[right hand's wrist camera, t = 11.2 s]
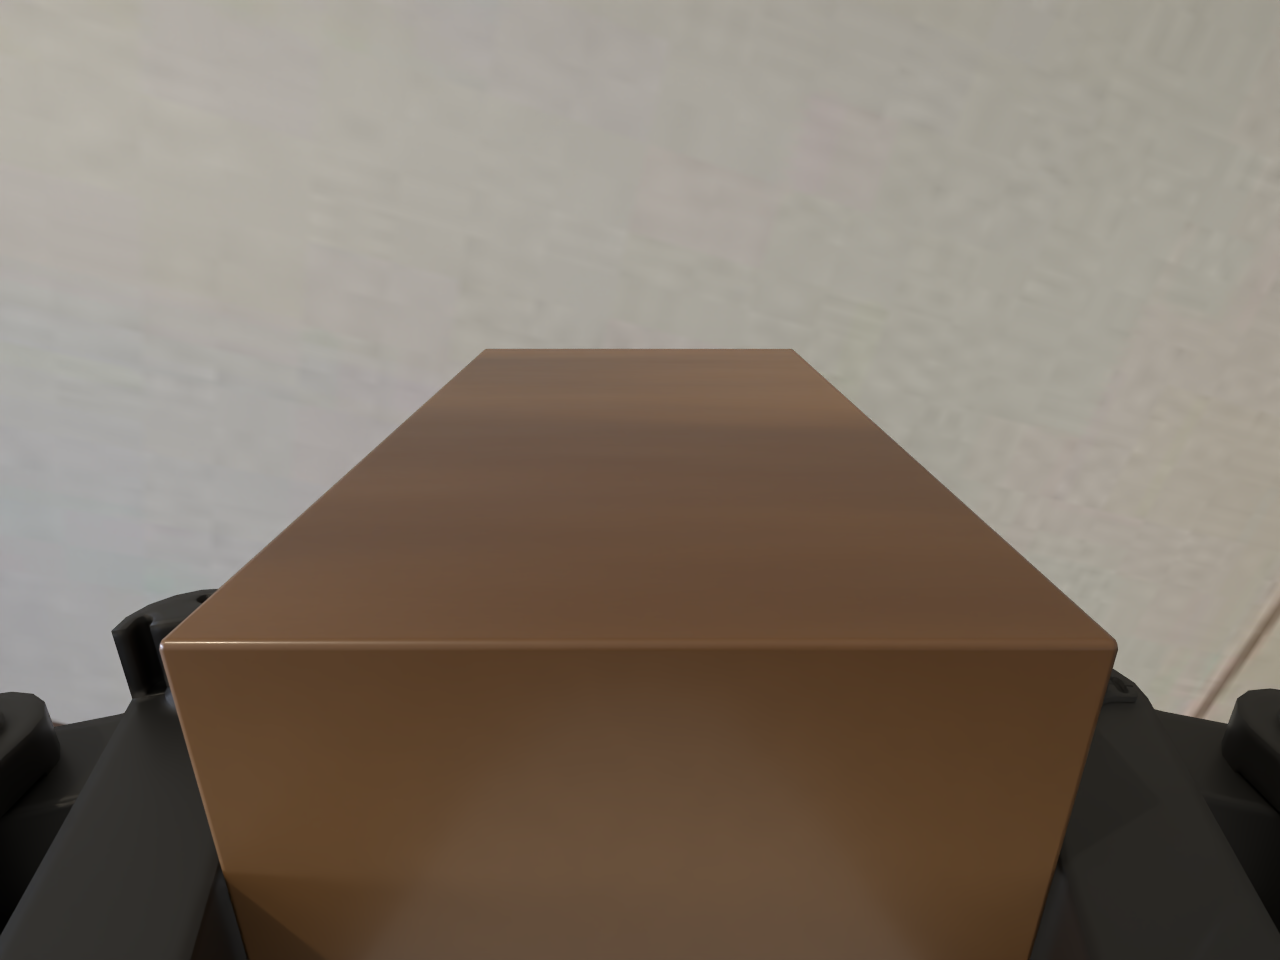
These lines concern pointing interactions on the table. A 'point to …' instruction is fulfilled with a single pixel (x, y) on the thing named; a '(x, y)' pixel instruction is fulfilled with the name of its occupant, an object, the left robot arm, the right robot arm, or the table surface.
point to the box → (638, 685)
